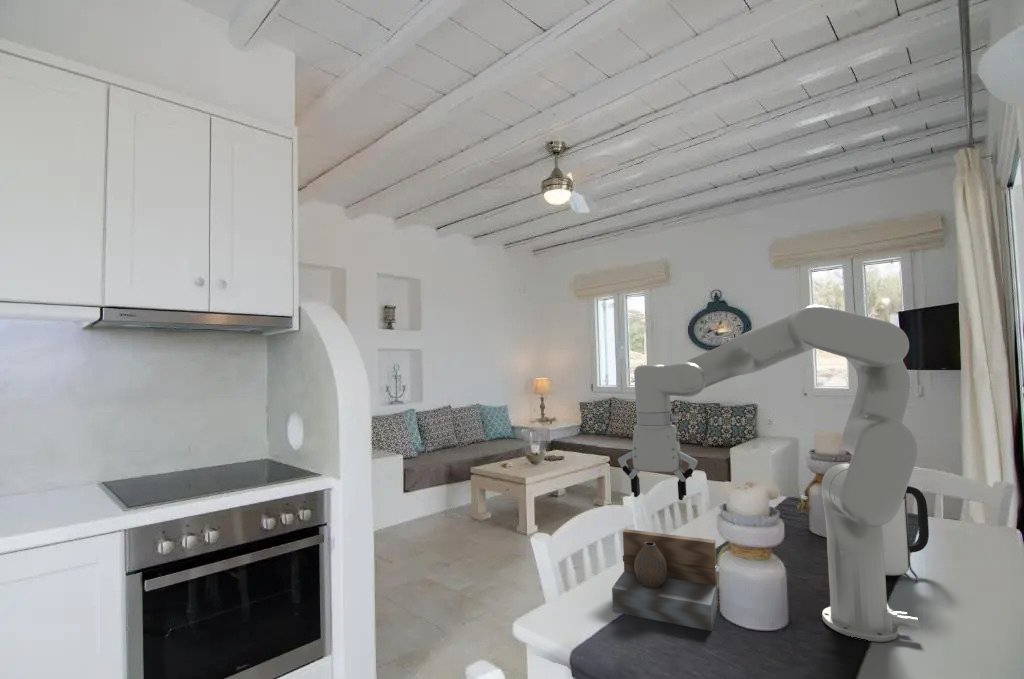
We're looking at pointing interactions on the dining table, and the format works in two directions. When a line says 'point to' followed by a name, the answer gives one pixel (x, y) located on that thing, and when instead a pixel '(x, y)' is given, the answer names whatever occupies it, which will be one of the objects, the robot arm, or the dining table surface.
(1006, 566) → the dining table surface
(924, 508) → the coffee press
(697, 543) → the wall shelf
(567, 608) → the dining table surface
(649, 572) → the vase
